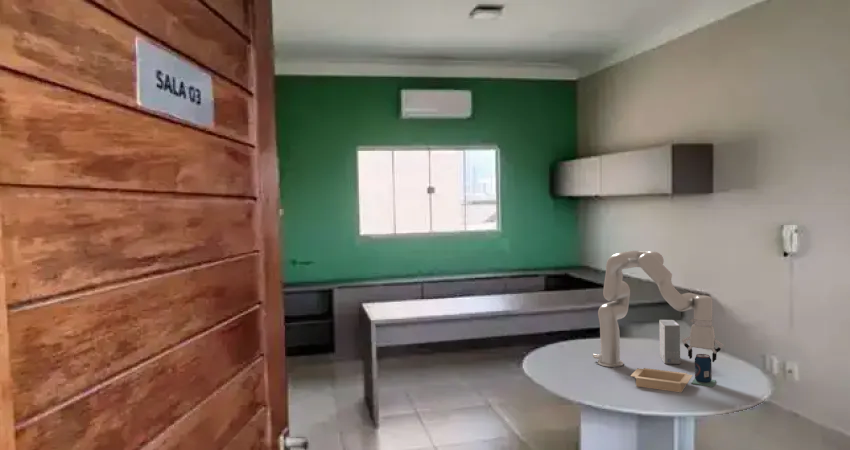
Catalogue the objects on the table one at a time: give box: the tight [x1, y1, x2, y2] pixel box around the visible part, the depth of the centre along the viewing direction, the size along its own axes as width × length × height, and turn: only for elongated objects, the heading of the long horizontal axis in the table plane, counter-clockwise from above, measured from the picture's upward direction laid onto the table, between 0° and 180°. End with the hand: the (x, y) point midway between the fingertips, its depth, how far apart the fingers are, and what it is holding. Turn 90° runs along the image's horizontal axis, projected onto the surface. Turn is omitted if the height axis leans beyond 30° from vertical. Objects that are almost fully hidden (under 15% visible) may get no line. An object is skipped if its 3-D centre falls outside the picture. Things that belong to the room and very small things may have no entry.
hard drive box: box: [659, 319, 681, 365], centre depth 314 cm, size 16×8×20 cm, turn 168°
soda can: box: [694, 353, 713, 383], centre depth 276 cm, size 7×7×12 cm
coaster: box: [691, 377, 717, 388], centre depth 276 cm, size 9×9×1 cm
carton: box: [630, 367, 694, 393], centre depth 275 cm, size 24×17×4 cm
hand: (702, 359), depth 276 cm, fingers open, 9 cm apart
